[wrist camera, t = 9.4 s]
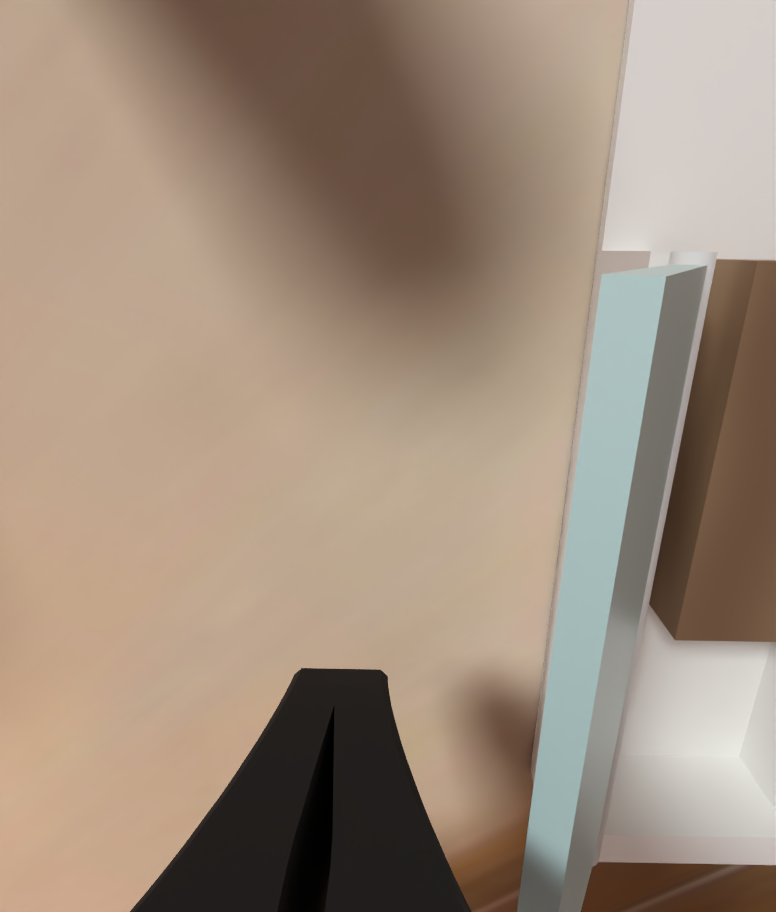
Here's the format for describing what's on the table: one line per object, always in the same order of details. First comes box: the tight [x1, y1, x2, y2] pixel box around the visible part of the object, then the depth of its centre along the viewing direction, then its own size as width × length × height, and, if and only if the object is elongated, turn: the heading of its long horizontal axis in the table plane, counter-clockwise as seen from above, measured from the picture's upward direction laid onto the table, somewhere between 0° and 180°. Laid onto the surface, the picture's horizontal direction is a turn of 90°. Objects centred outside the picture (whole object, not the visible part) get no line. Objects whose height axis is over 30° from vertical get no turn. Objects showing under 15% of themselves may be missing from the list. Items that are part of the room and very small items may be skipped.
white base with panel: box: [530, 0, 776, 865], centre depth 12 cm, size 7×26×3 cm, turn 179°
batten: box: [649, 259, 776, 642], centre depth 13 cm, size 3×8×2 cm, turn 179°
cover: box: [517, 251, 718, 912], centre depth 10 cm, size 6×14×1 cm
